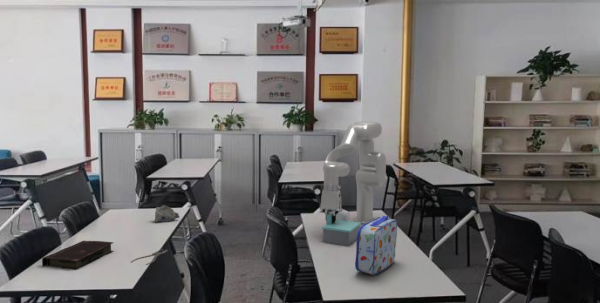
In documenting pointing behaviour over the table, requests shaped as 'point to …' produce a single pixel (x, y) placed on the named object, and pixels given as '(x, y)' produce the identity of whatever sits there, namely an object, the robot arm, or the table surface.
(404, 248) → the table surface
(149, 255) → the pliers
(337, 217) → the photo printer
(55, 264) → the diary
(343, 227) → the lid
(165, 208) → the mineral rock
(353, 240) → the tub
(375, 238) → the lunch box
